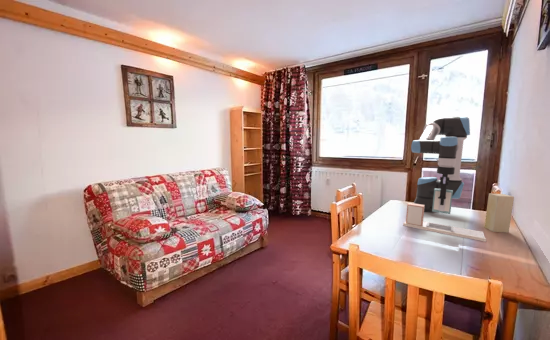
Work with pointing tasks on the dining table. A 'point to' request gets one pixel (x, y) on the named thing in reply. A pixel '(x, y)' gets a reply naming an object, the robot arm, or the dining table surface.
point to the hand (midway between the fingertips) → (441, 209)
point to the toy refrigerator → (499, 212)
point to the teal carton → (447, 202)
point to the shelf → (450, 230)
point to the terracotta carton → (415, 214)
